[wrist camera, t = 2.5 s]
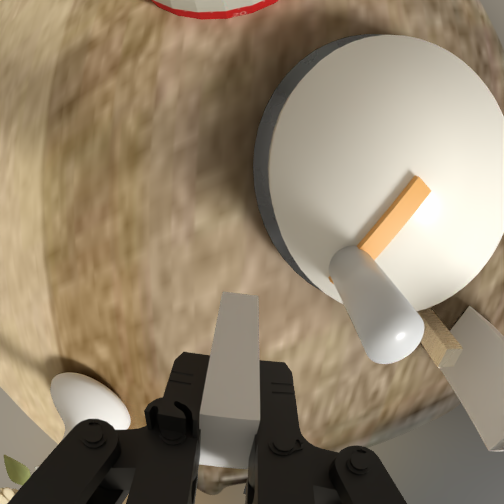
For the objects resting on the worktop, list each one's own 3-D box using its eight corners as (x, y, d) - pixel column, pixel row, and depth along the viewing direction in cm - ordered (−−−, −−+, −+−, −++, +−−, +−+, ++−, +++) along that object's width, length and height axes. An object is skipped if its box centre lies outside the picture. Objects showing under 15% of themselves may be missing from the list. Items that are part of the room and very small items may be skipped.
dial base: (272, 14, 18) (279, -27, 12) (496, 91, 19) (546, 91, 12) (233, 310, 27) (228, 362, 21) (440, 324, 28) (471, 364, 22)
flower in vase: (147, 426, 34) (104, 591, 11) (81, 420, 35) (26, 555, 12) (104, 353, 30) (10, 552, 6) (36, 352, 30) (-58, 499, 7)
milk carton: (468, 304, 27) (568, 422, 10) (493, 324, 29) (576, 426, 11) (429, 352, 30) (504, 483, 12) (457, 367, 31) (524, 477, 13)
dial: (376, -1, 15) (448, -66, 5) (519, 173, 20) (604, 204, 9) (209, 195, 21) (169, 254, 11) (393, 332, 26) (443, 421, 15)
